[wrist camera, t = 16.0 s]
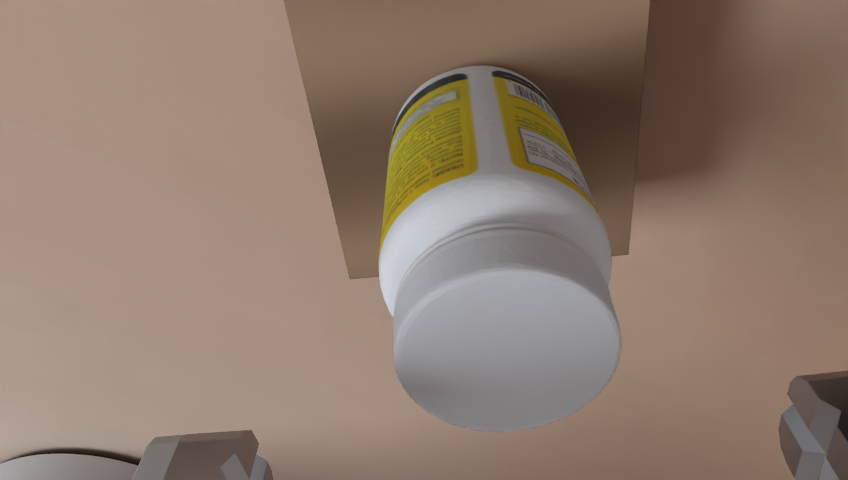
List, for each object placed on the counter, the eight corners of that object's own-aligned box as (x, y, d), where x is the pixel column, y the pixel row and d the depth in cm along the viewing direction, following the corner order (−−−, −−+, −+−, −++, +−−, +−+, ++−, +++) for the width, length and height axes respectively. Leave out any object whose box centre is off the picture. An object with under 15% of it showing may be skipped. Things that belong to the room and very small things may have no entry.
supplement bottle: (392, 213, 19) (372, 445, 12) (388, 60, 16) (358, 249, 9) (550, 213, 19) (619, 447, 12) (572, 61, 16) (676, 251, 9)
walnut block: (600, 190, 23) (628, 254, 20) (360, 213, 24) (349, 278, 21) (613, -78, 18) (654, -51, 15) (308, -39, 19) (282, -5, 15)
